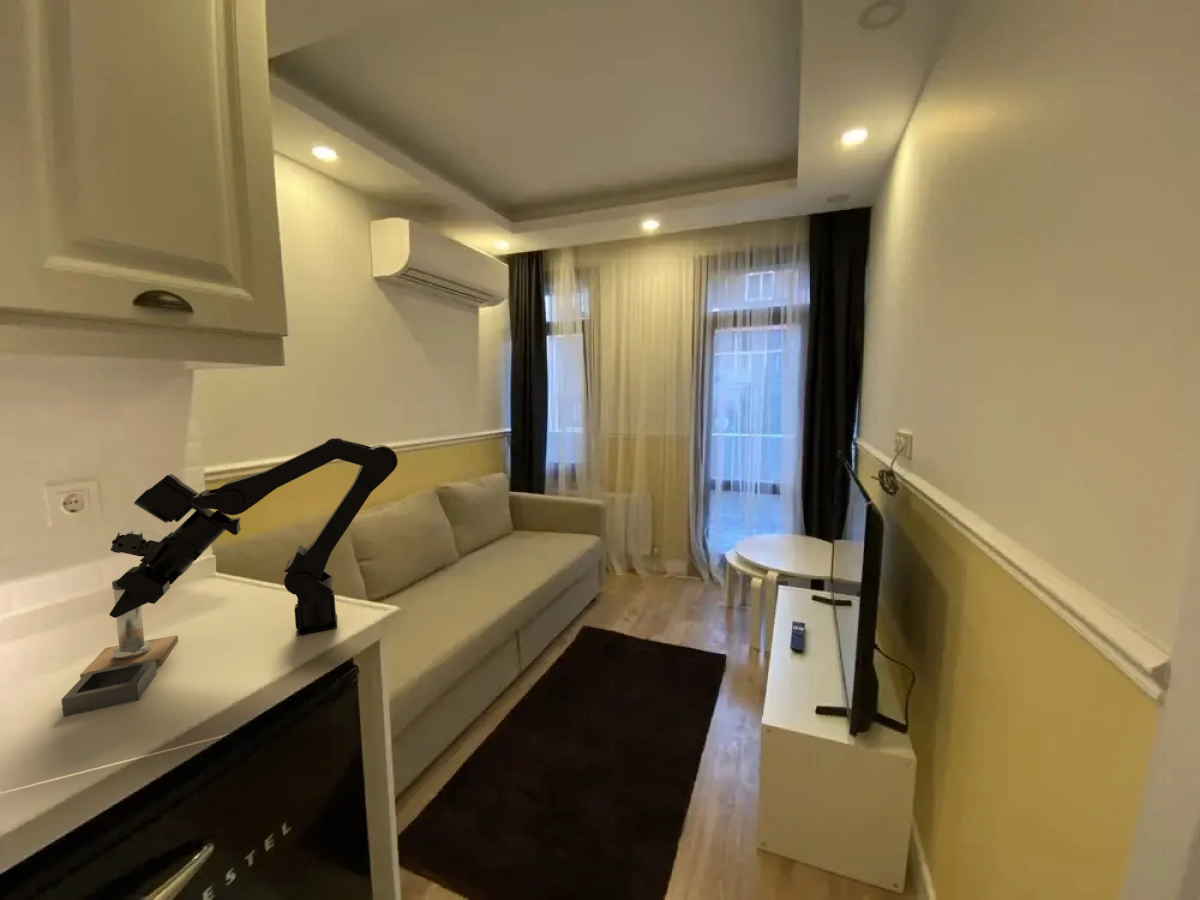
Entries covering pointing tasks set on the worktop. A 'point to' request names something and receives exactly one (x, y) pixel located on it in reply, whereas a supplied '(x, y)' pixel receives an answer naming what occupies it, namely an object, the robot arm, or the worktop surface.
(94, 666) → the walnut pad
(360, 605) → the worktop surface
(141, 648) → the capped metal cylinder
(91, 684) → the holder
